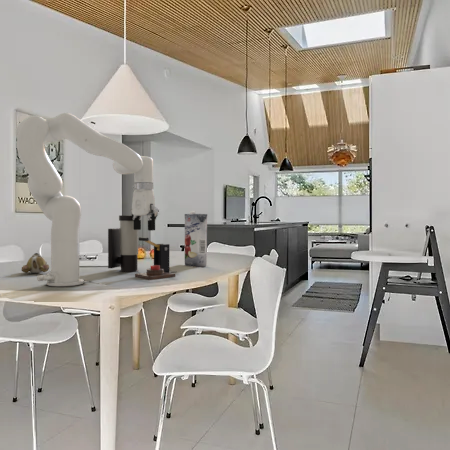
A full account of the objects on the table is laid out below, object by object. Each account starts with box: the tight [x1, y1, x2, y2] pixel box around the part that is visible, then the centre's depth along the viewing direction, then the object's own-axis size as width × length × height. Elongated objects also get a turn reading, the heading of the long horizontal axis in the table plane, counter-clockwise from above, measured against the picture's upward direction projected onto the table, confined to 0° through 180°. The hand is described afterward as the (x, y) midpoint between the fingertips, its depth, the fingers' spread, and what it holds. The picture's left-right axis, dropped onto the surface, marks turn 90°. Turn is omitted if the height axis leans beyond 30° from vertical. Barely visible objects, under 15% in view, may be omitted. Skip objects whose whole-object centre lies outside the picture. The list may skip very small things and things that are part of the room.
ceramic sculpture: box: [21, 252, 50, 274], centre depth 185 cm, size 11×9×15 cm
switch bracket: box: [145, 243, 176, 274], centre depth 181 cm, size 10×8×13 cm
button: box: [150, 264, 160, 270], centre depth 168 cm, size 4×4×2 cm
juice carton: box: [184, 210, 208, 268], centre depth 212 cm, size 9×10×27 cm
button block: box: [134, 267, 176, 281], centre depth 168 cm, size 12×10×4 cm
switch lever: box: [138, 236, 160, 251], centre depth 178 cm, size 12×5×2 cm, turn 136°
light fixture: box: [107, 214, 140, 273], centre depth 185 cm, size 12×11×25 cm
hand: (144, 230), depth 175 cm, fingers open, 9 cm apart
